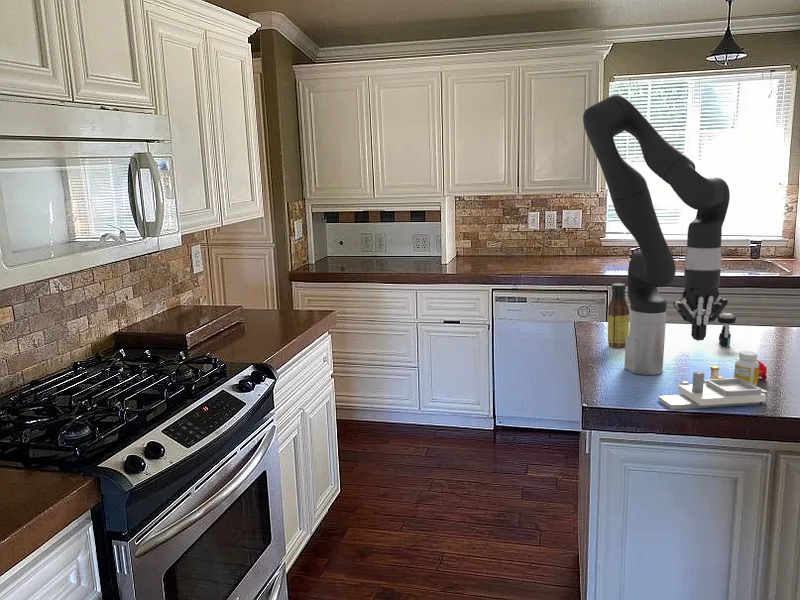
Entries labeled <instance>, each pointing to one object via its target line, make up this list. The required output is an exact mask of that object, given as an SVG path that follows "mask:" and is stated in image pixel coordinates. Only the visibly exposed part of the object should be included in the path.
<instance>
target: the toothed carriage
mask: <svg viewBox="0 0 800 600" xmlns="http://www.w3.org/2000/svg"><path fill="white" fill-rule="evenodd" d="M692 373H693V374H692V381H691V383H690V382H689V381H686V380H685V381H681V382H680V384H678V387H677V389H678V390H677V392H679V393H680V394H681V395H685V396H686V397H688V398H690V399H691V400H693V401H694V402H696V403H697V404H699V405H701V406H703V405H719V404H735V403H750V402H759V403H760V402H765V400H766V395H765V394H763V393H761V390H762V389H763V388H761V387H759V386H758V385H757V386H755V385H753V384H751V383H749V382H747V381H745V380H743V379H741V378H734V377H729V378H728V377H723V376H720V375H718V376H716V377H715V379H710V378H709V379H705V373H704V372H702V371H693V372H692Z"/></svg>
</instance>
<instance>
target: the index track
mask: <svg viewBox="0 0 800 600" xmlns="http://www.w3.org/2000/svg"><path fill="white" fill-rule="evenodd" d="M719 371H720V367H719V366H717V365H713V366H712V365H711V366H710V377H709V379H715V377H716V376H719ZM761 389H762V390H761V393H763V394H765V395H766V400H765V402H750V403H735V404H719V405H703V406H701V405H699V404H697V403H696V402H694V401H693V400H691V399H690V398H688V397H686V396H685V395H683V394H677V395H676V394H673V395H659V396H658V402H659V403H661V405H664V406H665V407H667V408H668V409H669V410H671V411H675V410H689V409H690V410H691V409H705V408H708V409H709V408H720V407H721V408H722V407H736V406H750V405H751V406H753V405H754V406H755V405H760V404H762V405H766V404H767V403H768V402H767V399H768V391H767V390H766V389H763V388H761Z"/></svg>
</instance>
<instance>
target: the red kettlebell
mask: <svg viewBox="0 0 800 600" xmlns="http://www.w3.org/2000/svg"><path fill="white" fill-rule="evenodd" d="M755 361H757V362H758V363H759V372H758V378H761V379H763V380H767V373H768V370H767V366H766V365H765V364H764V363H763V362H761V360H758V359H756V360H755ZM758 383H759V381H757V384H758Z"/></svg>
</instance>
